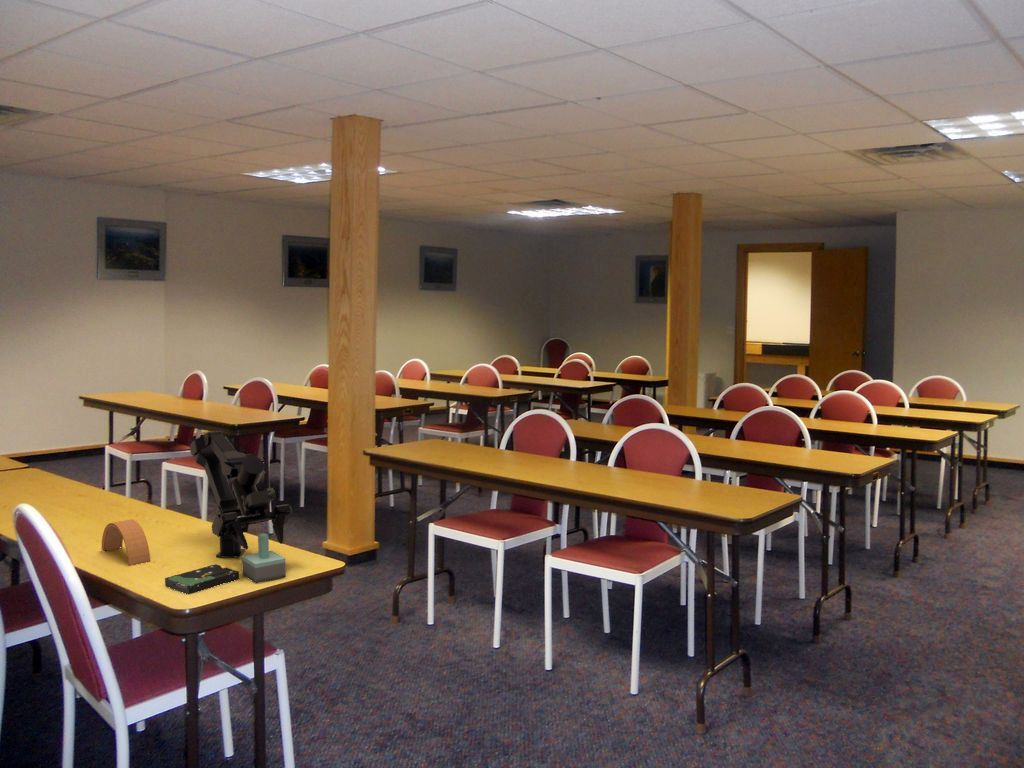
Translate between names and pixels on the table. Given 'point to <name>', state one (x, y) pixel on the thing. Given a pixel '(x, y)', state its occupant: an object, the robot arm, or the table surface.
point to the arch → (127, 540)
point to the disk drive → (201, 579)
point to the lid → (263, 554)
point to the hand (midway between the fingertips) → (264, 545)
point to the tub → (264, 572)
